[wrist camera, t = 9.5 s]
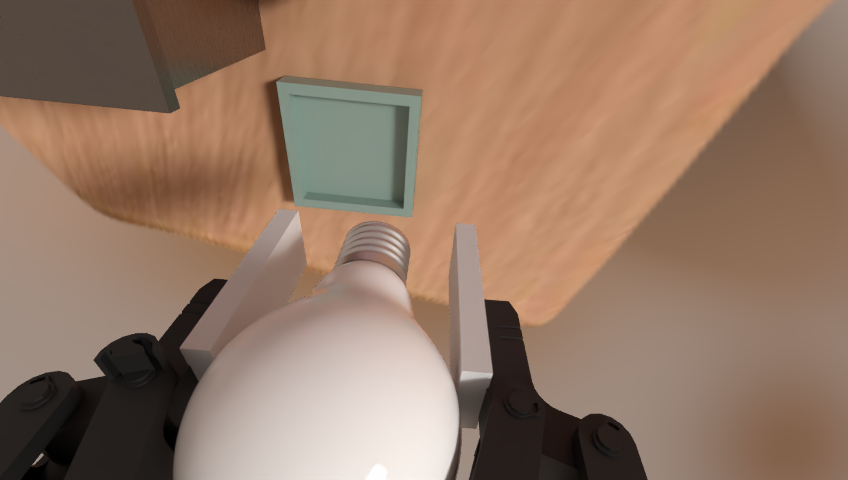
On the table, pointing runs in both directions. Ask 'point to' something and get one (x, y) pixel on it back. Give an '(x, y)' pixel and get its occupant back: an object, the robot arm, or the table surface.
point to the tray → (351, 144)
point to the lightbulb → (329, 384)
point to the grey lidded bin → (120, 48)
